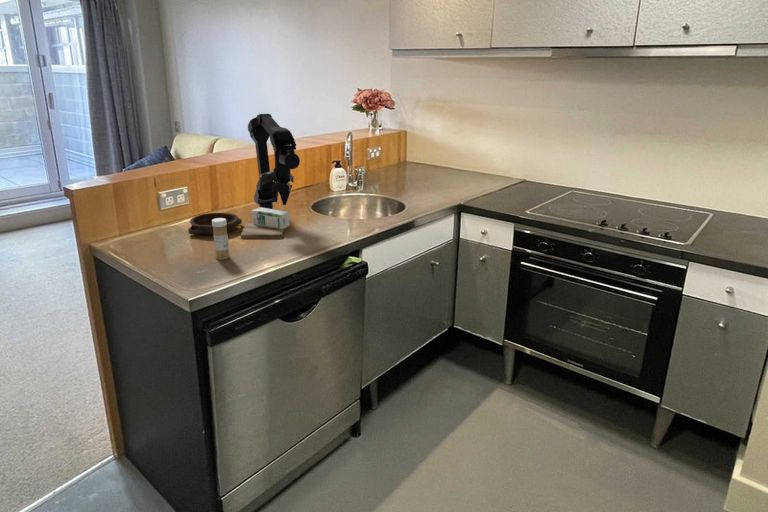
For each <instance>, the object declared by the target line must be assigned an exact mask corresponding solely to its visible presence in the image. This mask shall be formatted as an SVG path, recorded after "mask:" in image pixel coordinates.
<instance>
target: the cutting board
mask: <svg viewBox="0 0 768 512" xmlns="http://www.w3.org/2000/svg"><path fill="white" fill-rule="evenodd" d="M285 230H286V228H283V229H278V228H273V227H267V226H262V225H256V224H252V221H247V223H246V224H245V227H244V228H243V230H242V232H241V233H240V239H282V238H283V235H284V232H285Z"/></svg>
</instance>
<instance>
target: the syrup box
mask: <svg viewBox="0 0 768 512" xmlns="http://www.w3.org/2000/svg"><path fill="white" fill-rule="evenodd" d="M250 211H251V222H252V224H256V225H262V226H267V227H273V228H278V229H283V228H285V229H286V228H288V227H290V225H291V224H290V223H291V221H290V212H289V211H284V210H278V209H274V208H273V209H268V208H262V207H259V206H258V207H256V208H254V209H252V210H250Z"/></svg>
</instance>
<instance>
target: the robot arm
mask: <svg viewBox="0 0 768 512" xmlns="http://www.w3.org/2000/svg"><path fill="white" fill-rule="evenodd" d="M247 131H248V132H249V136H250V139H251V140H252V141H253V143H254V144H255V154H256V161H257V169H258V178H259V179H258V181H257V184H256V187H255V188H256V190H255V192H254V194H253V195H254V196H253V200H254V203H255V204H257V205H258V208H259V207H262V208H268V209H274V203H277V202H278V198H279V196H280V199H281V204H282V205H283V206H286V205H287V202H288V199H289V197H290V193H291V190H292V188H293V184H290V182H291V183H294V182H295V177H294V175H293V174H292V171H291V170H295V169H297V168H298V167H299V165H300V164H301V163H300V162H301V159H300V156H298V154H296V153H295V150H297V147H296V146H297V143H296V140H295V138H294V135H293V134H292V132H291V131H290V130H289V129H288V128H286V127H282V126H280V125H279V124H278V123H277V122H276V120H275V119H274V118H273V116H272V114H271V113H259V114H257V116H256V117H254V118H252V119H250V120H249V122H248V124H247ZM268 140H269V141H270V143H271V146H272V148H273V149H272V150H273V155H274V158H273V159H274V168H273V169H272V170H271V168H270V159H269V148H268Z"/></svg>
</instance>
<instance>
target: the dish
mask: <svg viewBox="0 0 768 512" xmlns="http://www.w3.org/2000/svg"><path fill="white" fill-rule="evenodd" d="M216 218H225V219H226V222H227V226H226V228H227V233H230V232H232V231H234V230H235V229H236V226H240V225H241V224H243V221H242V218H240V217H239V215H237V214H234V213H228V212H207V213H201V214H199V215H196V216H194V217H192V218H191V219H190V220H189V224H190V225H191V226H190V227H189V228H188V230H187V231H188V233H189V234H191V235H198V234H199V235H205V236H214V232H213V226H212V220H213V219H216Z"/></svg>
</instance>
